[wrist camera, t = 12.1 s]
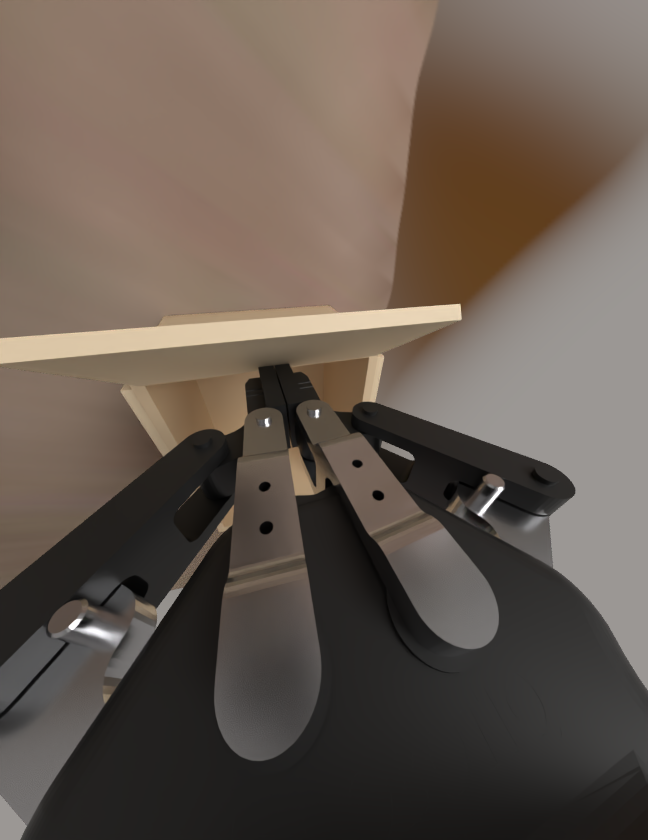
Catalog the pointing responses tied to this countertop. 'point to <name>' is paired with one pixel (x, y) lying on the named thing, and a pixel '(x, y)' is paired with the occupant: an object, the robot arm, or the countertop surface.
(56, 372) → the flap
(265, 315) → the carton
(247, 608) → the robot arm
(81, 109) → the countertop surface
